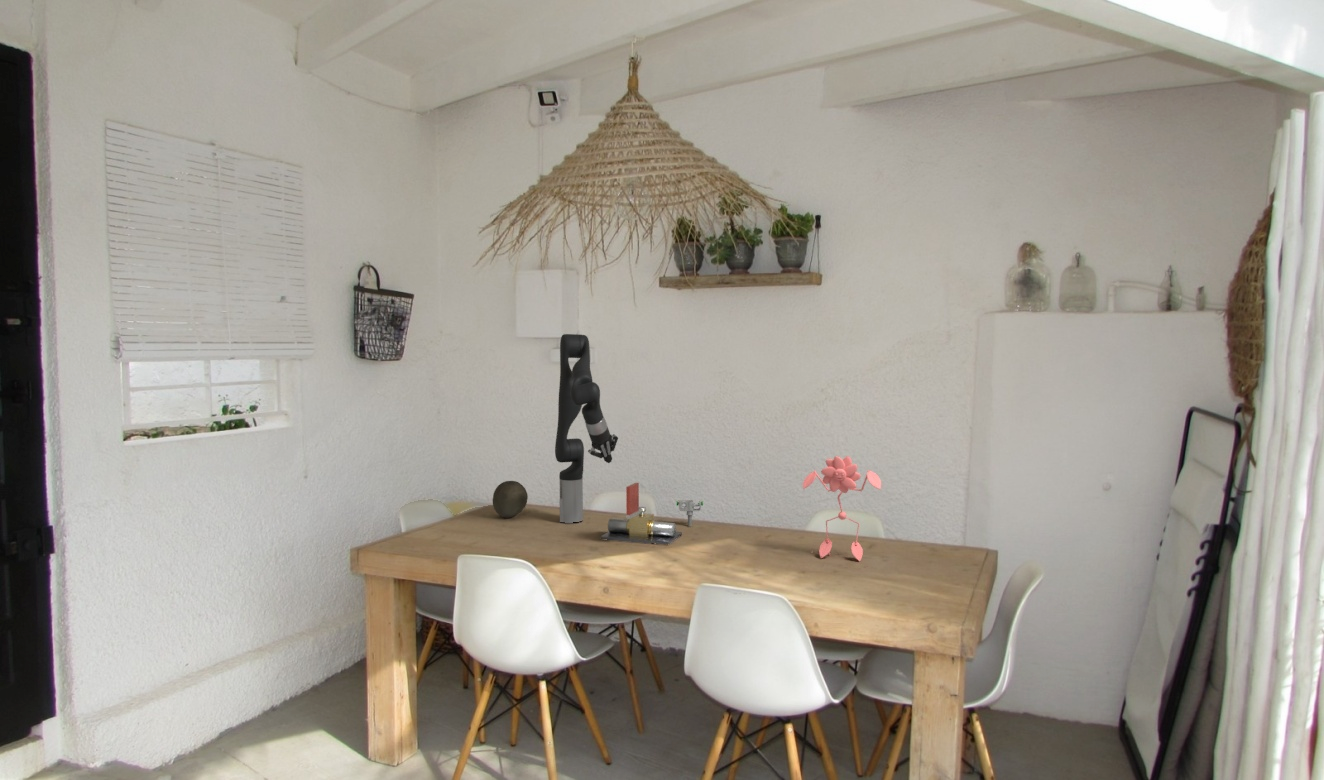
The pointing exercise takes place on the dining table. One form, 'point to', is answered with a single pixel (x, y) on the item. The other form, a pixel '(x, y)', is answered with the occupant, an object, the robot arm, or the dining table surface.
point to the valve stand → (641, 530)
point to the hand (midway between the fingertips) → (608, 461)
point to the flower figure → (841, 478)
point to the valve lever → (633, 501)
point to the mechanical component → (689, 508)
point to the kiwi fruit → (509, 499)
